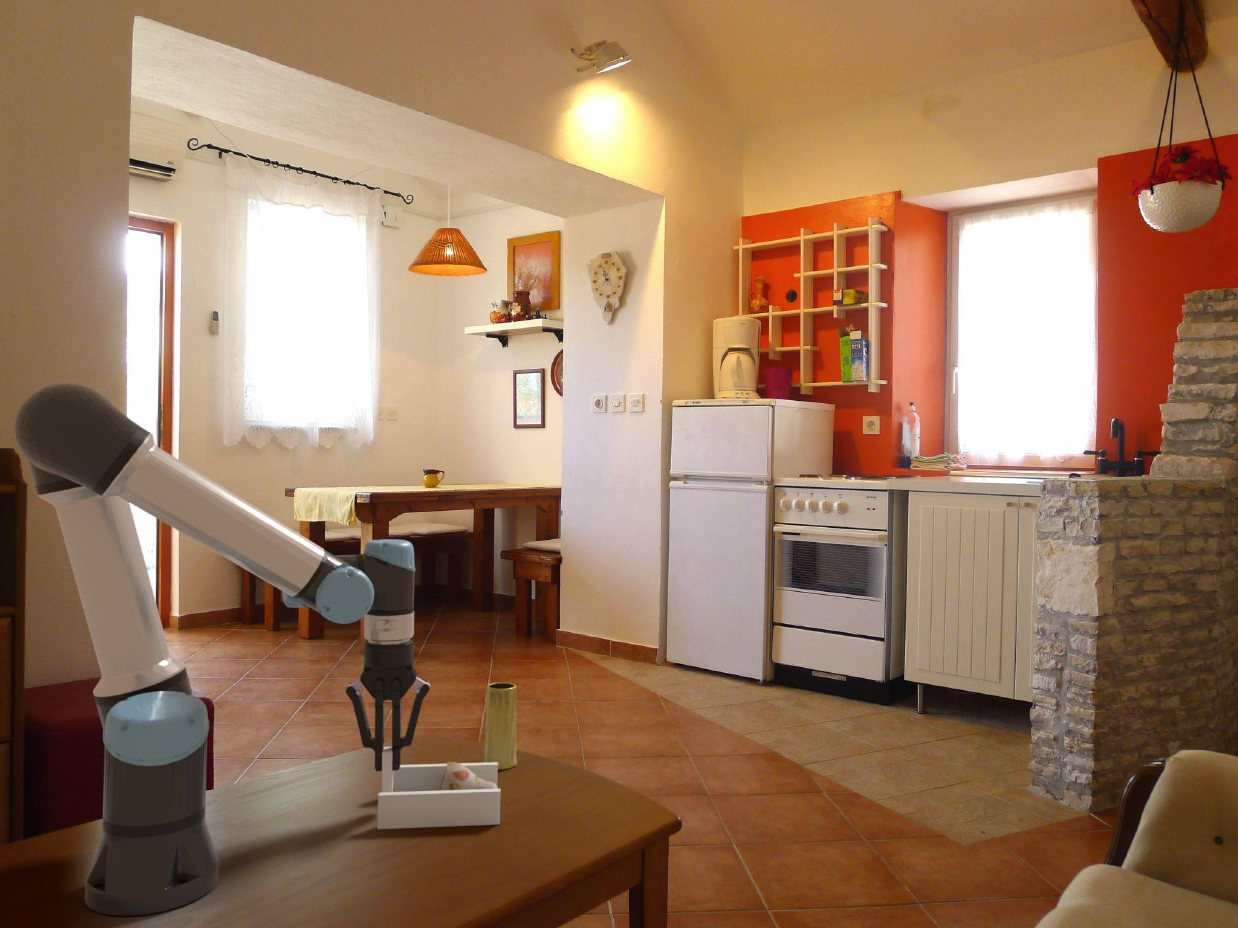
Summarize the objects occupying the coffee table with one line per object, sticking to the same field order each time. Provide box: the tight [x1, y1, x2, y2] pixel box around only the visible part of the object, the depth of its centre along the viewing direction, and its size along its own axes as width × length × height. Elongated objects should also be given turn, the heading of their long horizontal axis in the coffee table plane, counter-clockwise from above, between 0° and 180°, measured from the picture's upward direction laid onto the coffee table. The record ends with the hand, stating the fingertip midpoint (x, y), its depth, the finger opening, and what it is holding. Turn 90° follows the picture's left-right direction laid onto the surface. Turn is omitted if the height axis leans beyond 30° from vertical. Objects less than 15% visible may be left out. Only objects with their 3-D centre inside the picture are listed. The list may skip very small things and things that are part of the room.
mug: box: [439, 761, 499, 791], centre depth 147 cm, size 8×10×10 cm
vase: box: [482, 681, 518, 770], centre depth 168 cm, size 6×6×14 cm
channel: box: [376, 762, 501, 830], centre depth 146 cm, size 18×14×5 cm
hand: (387, 790), depth 144 cm, fingers closed
